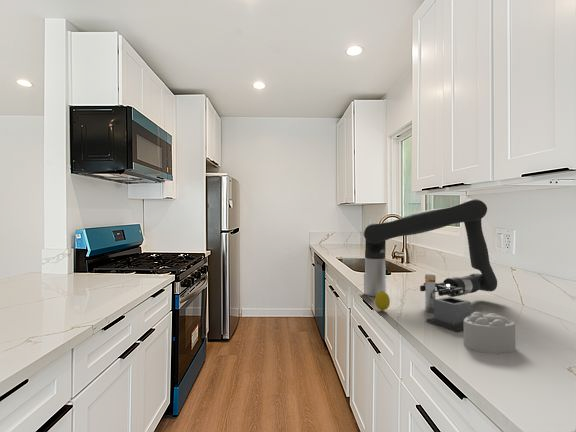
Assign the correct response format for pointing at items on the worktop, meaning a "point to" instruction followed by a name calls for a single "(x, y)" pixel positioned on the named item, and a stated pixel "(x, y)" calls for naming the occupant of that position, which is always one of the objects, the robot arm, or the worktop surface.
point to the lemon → (382, 300)
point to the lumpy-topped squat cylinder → (489, 333)
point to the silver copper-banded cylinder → (429, 292)
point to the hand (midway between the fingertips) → (429, 290)
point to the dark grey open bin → (450, 313)
